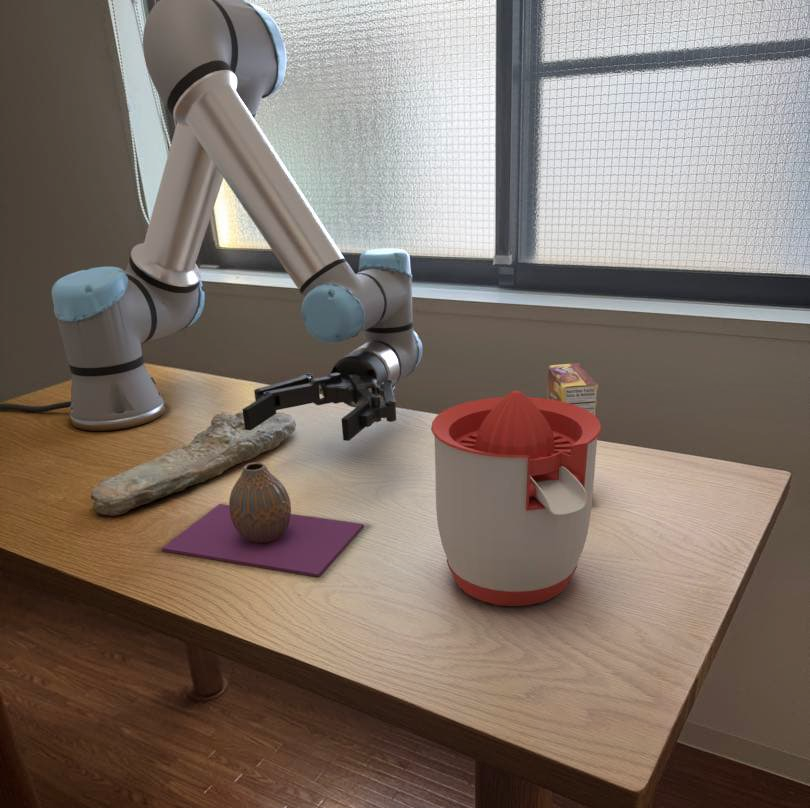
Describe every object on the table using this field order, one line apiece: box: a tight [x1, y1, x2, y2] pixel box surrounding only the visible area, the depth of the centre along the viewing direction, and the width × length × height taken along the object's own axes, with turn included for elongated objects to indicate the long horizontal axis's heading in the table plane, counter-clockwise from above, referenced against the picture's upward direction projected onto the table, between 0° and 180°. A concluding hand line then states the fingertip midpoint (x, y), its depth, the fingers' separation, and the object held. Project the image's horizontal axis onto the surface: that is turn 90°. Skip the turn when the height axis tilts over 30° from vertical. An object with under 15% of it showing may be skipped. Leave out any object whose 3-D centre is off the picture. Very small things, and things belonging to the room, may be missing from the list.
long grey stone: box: [90, 411, 297, 517], centre depth 107 cm, size 35×5×10 cm
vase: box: [228, 461, 292, 544], centre depth 87 cm, size 7×7×9 cm
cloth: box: [161, 503, 365, 578], centre depth 89 cm, size 20×12×1 cm, turn 69°
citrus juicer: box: [430, 390, 602, 607], centre depth 74 cm, size 16×17×20 cm
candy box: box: [547, 363, 599, 417], centre depth 93 cm, size 9×4×15 cm, turn 2°
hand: (294, 424), depth 93 cm, fingers open, 13 cm apart
